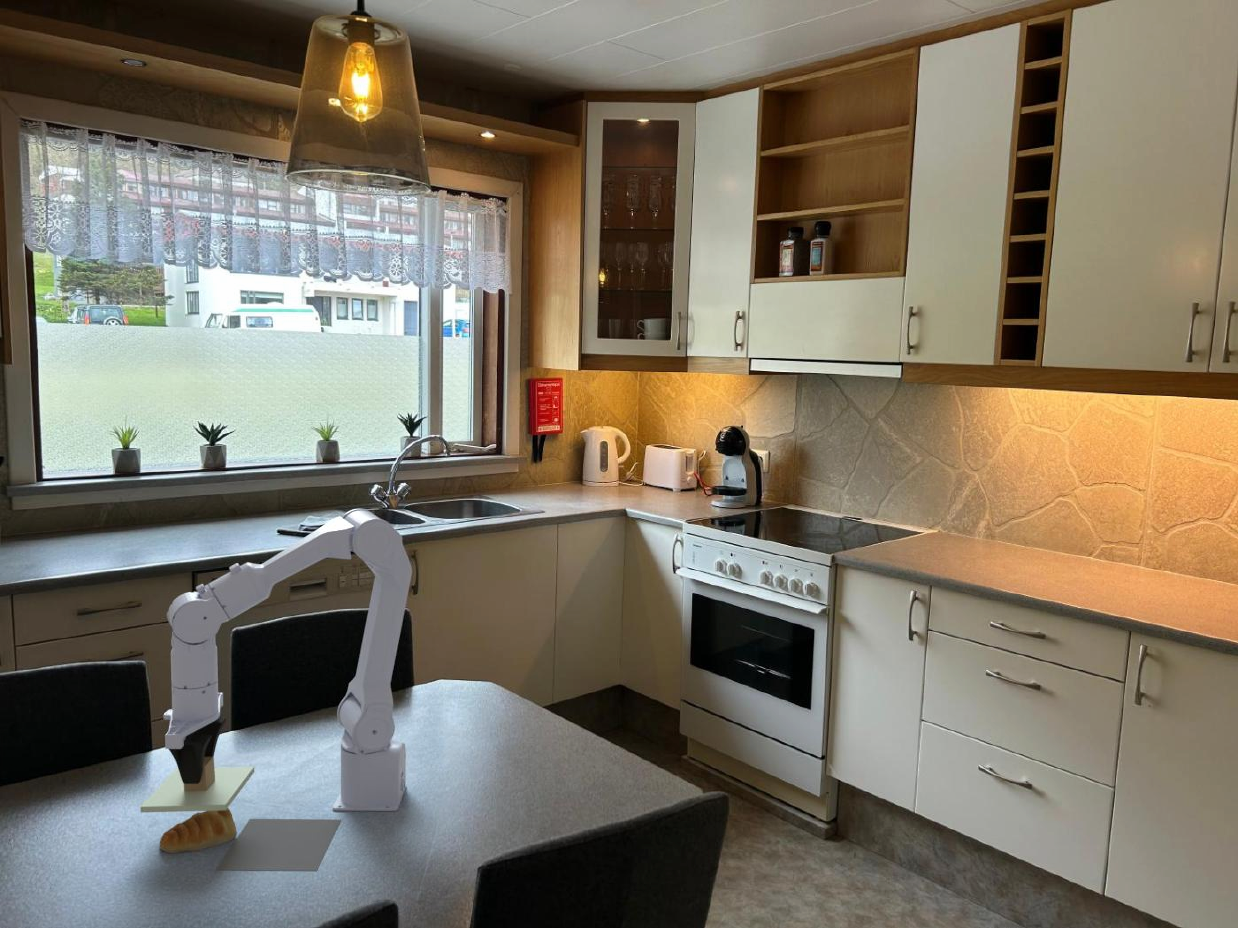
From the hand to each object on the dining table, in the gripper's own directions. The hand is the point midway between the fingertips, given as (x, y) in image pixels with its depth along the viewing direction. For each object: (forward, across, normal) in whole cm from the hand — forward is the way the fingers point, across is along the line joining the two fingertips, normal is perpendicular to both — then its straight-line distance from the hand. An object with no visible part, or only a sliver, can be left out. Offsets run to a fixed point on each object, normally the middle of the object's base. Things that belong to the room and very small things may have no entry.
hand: (197, 776), depth 126 cm
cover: (+2, 0, 0) cm, 2 cm away
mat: (+9, +2, +12) cm, 15 cm away
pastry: (+9, +1, +1) cm, 9 cm away
